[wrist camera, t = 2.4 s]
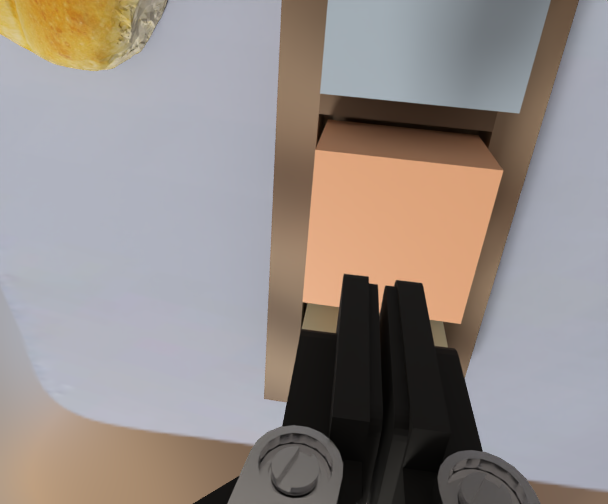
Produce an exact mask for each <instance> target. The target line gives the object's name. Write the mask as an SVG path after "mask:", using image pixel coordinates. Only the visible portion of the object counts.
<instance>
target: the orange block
mask: <svg viewBox="0 0 608 504" xmlns="http://www.w3.org/2000/svg"><path fill="white" fill-rule="evenodd" d="M502 174H503V169H502V168H501V166H500V165H499V164H498V162H497V161H496V159H495V158H494V157H493V155H492V154H491V152H490V151H489V149H488V148H487V147H486V145H485V144H484V142H483V141H482V140H481V138H480V137H479V135H472V134H462V133H453V132H443V131H433V130H424V129H414V128H405V127H395V126H386V125H376V124H366V123H357V122H347V121H338V120H328V121H327V123H326V125H325V128H324V130H323V133H322V135H321V137H320V140H319V142H318V144H317V147H316V149H315V159H314V171H313V183H312V194H311V206H310V218H309V230H308V242H307V254H306V265H305V277H304V289H303V301H302V302H305V303H312V304H319V305H327V306H334V307H339V305H340V297H341V289H342V281H343V275H344V274H351V275H359V276H368V277H369V283H370V284H378V295H379V313H380V310H381V304H382V299H383V293H384V288H385V286H386V285H387V286H394V284H395V281H396V280H401V281H410V282H418V283H422V284H423V287H424V293H425V298H426V303H427V308H428V314H429V319H430V320H435V321H443V322H450V323H457V324H461V321H462V318H463V314H464V311H465V307H466V303H467V300H468V296H469V293H470V289H471V285H472V282H473V278H474V275H475V271H476V267H477V264H478V260H479V257H480V253H481V249H482V246H483V242H484V239H485V235H486V231H487V228H488V224H489V221H490V217H491V214H492V210H493V206H494V203H495V199H496V196H497V192H498V188H499V185H500V181H501V178H502Z"/></svg>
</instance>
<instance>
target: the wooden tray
mask: <svg viewBox="0 0 608 504" xmlns="http://www.w3.org/2000/svg"><path fill="white" fill-rule="evenodd" d="M578 2H579V0H551V2H550V5H549V9H548V12H547V16H546V19H545V23H544V27H543V30H542V34H541V37H540V41H539V45H538V48H537V52H536V55H535V59H534V63H533V66H532V70H531V73H530V77H529V81H528V84H527V88H526V91H525V95H524V99H523V102H522V106H521V109H520V113H509V112H499V111H489V110H479V109H469V108H459V107H449V106H439V105H429V104H419V103H409V102H399V101H389V100H379V99H369V98H359V97H349V96H339V95H329V94H320V88H321V76H322V64H323V52H324V41H325V29H326V17H327V5H328V0H282V7H281V29H280V52H279V74H278V97H277V119H276V142H275V164H274V187H273V209H272V232H271V254H270V277H269V299H268V322H267V345H266V367H265V390H264V399H269V400H275V401H282V402H287V399H288V394H289V389H290V384H291V379H292V374H293V368H294V363H295V358H296V353H297V348H298V342H299V337H300V332H301V329H302V325H303V321H304V317H305V312H306V308H307V304H308V303H305V302H302V301H303V289H304V277H305V265H306V254H307V242H308V230H309V218H310V206H311V194H312V183H313V171H314V159H315V149H316V147H317V144H318V142H319V140H320V137H321V135H322V133H323V130H324V128H325V125H326V123H327V121H328V120H338V121H347V122H357V123H366V124H376V125H386V126H395V127H405V128H414V129H424V130H433V131H443V132H453V133H462V134H472V135H479V137H480V138H481V140H482V141H483V142H484V144H485V145H486V147H487V148H488V149H489V151H490V152H491V154H492V155H493V157H494V158H495V159H496V161H497V162H498V164H499V165H500V166H501V168H502V169H503V174H502V178H501V181H500V185H499V188H498V192H497V196H496V199H495V203H494V206H493V210H492V214H491V217H490V221H489V224H488V228H487V231H486V235H485V239H484V242H483V246H482V249H481V253H480V257H479V260H478V264H477V267H476V271H475V275H474V278H473V282H472V285H471V289H470V293H469V296H468V300H467V303H466V307H465V311H464V314H463V318H462V321H461V324H457V323H450V322H443V324H444V330H445V335H446V340H447V345H448V348H455V349H456V350H457V353H458V355H459V359H460V363H461V367H462V371H463V375H464V378H465V375H466V372H467V368H468V365H469V362H470V359H471V355H472V352H473V349H474V345H475V342H476V339H477V335H478V332H479V329H480V326H481V322H482V319H483V316H484V312H485V309H486V306H487V302H488V299H489V296H490V292H491V289H492V286H493V283H494V279H495V276H496V273H497V269H498V266H499V263H500V259H501V256H502V253H503V250H504V246H505V243H506V240H507V236H508V233H509V230H510V226H511V223H512V220H513V216H514V213H515V210H516V207H517V203H518V200H519V197H520V193H521V190H522V187H523V183H524V180H525V177H526V174H527V170H528V167H529V164H530V160H531V157H532V154H533V150H534V147H535V144H536V141H537V137H538V134H539V131H540V127H541V124H542V121H543V117H544V114H545V111H546V107H547V104H548V101H549V98H550V94H551V91H552V88H553V84H554V81H555V78H556V74H557V71H558V68H559V65H560V61H561V58H562V55H563V51H564V48H565V45H566V41H567V38H568V35H569V32H570V28H571V25H572V22H573V18H574V15H575V12H576V8H577V5H578Z"/></svg>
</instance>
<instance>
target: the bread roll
mask: <svg viewBox="0 0 608 504" xmlns="http://www.w3.org/2000/svg"><path fill="white" fill-rule="evenodd" d="M166 3H167V0H0V34H1V35H3V36H5V37H6V38H8V39H10V40H11V41H13V42H15V43H16V44H18V45H20V46H22V47H24V48H26V49H28V50H30V51H31V52H33V53H35V54H36V55H38V56H40V57H42V58H43V59H45V60H47V61H49V62H51V63H54V64H57V65H61V66H65V67H70V68H75V69H82V70H90V71H98V70H107V69H112V68H115V67H116V66H118V65H119V64H121V63H123V62H124V61H126V60H128V59H130V58H131V57H132V56H133V55H135V54H137V53H139V52H141V51H142V49H143V48H144V46H145V45H146V43H147V41H148V40H149V38H150V36H151V34H152V32H153V30H154V28H155V27H156V25H157V23H158V22H159V20H160V18H161V16H162V14H163V11H164V9H165V6H166Z"/></svg>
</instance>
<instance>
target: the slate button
mask: <svg viewBox="0 0 608 504" xmlns="http://www.w3.org/2000/svg"><path fill="white" fill-rule="evenodd" d="M550 2H551V0H328V5H327V17H326V29H325V41H324V52H323V64H322V76H321V88H320V94H329V95H339V96H349V97H359V98H369V99H379V100H389V101H399V102H409V103H419V104H429V105H439V106H449V107H459V108H469V109H479V110H489V111H499V112H509V113H520V109H521V106H522V102H523V99H524V95H525V91H526V88H527V84H528V81H529V77H530V73H531V70H532V66H533V63H534V59H535V55H536V52H537V48H538V45H539V41H540V37H541V34H542V30H543V27H544V23H545V19H546V16H547V12H548V9H549V5H550Z"/></svg>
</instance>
